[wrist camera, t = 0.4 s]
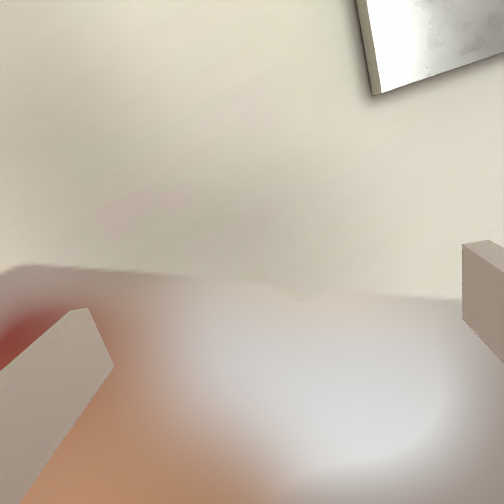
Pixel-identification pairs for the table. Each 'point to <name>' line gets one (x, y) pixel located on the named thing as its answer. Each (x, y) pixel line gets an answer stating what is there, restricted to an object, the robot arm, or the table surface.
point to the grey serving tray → (427, 37)
